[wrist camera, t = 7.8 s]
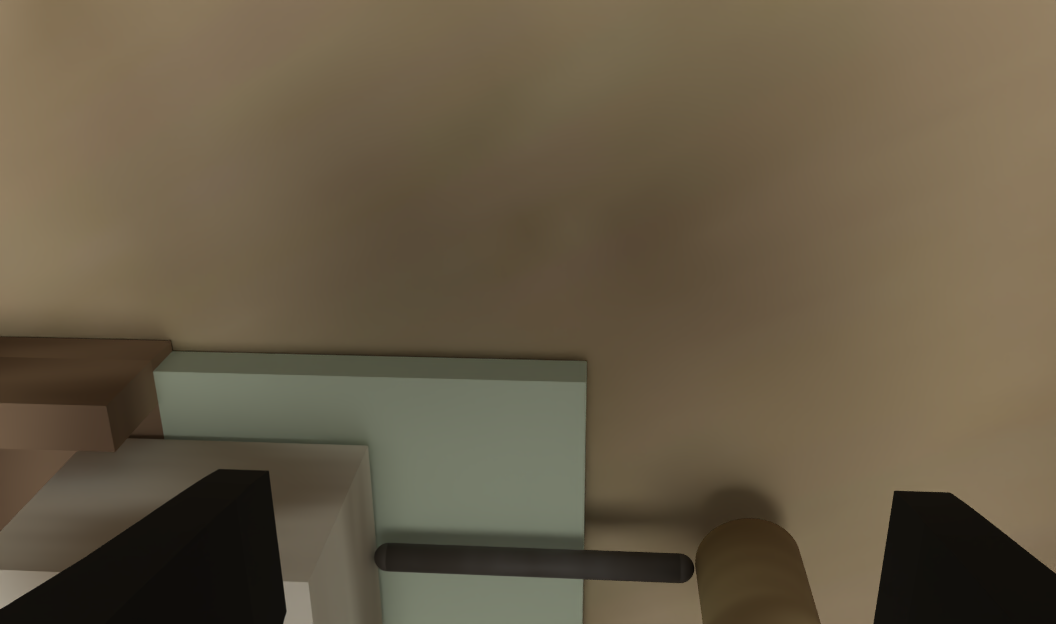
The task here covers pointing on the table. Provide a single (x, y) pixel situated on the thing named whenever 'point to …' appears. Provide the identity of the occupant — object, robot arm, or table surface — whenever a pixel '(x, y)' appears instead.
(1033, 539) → the table surface
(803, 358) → the table surface
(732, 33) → the table surface
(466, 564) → the block rod cylinder assembly
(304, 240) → the table surface
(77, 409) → the lane shelf
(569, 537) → the pad
